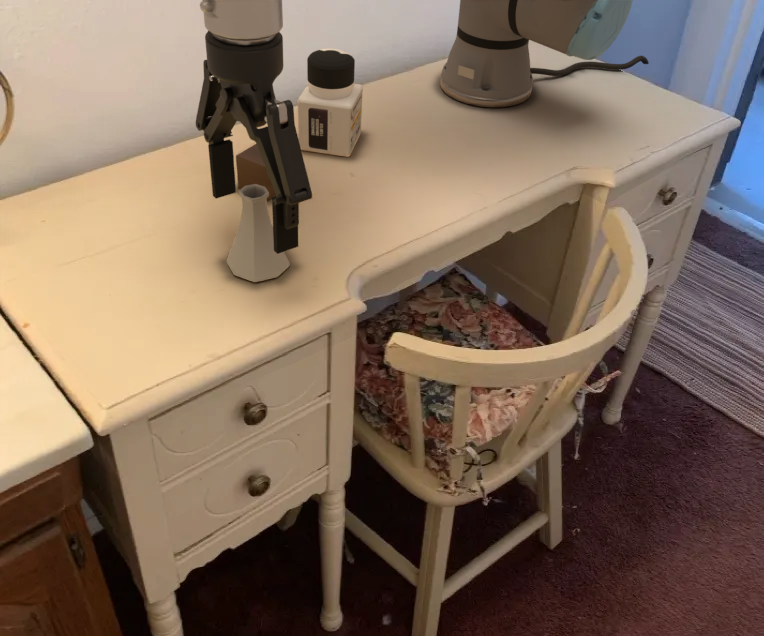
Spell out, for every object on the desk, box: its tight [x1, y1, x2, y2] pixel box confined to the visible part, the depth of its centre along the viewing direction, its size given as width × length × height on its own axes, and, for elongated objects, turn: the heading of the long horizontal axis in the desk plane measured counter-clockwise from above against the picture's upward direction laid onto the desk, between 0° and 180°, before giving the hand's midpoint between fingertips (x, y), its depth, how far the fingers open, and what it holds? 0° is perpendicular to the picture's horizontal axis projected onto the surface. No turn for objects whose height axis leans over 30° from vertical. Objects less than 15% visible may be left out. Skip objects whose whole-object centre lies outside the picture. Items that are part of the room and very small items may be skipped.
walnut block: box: [235, 143, 277, 202], centre depth 111 cm, size 5×5×5 cm
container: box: [297, 47, 364, 158], centre depth 119 cm, size 8×8×13 cm
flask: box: [225, 184, 291, 283], centre depth 97 cm, size 7×7×10 cm
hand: (254, 220), depth 96 cm, fingers open, 13 cm apart
